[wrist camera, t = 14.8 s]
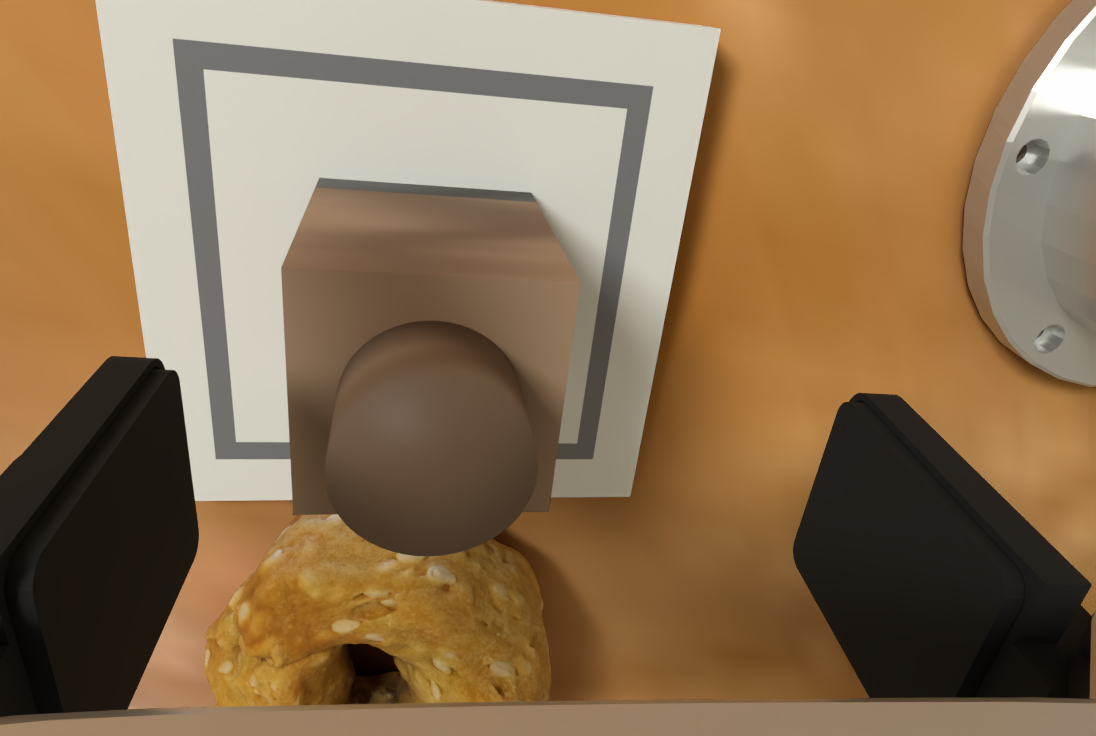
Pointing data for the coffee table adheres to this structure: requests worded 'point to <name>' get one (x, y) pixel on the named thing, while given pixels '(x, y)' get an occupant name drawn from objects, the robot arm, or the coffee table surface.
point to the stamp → (425, 361)
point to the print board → (395, 157)
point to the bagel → (379, 624)
